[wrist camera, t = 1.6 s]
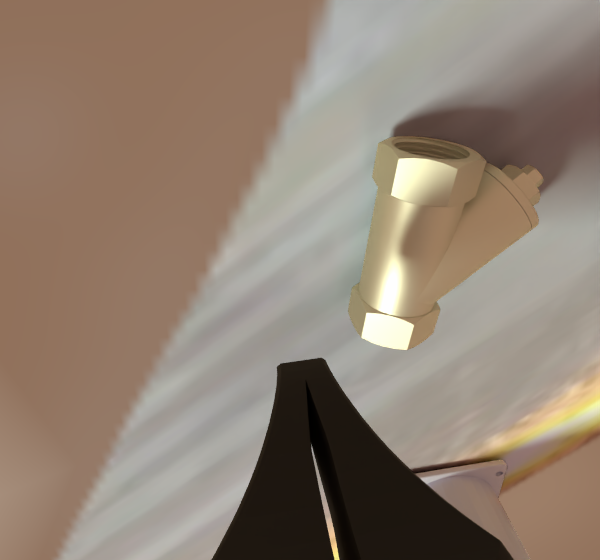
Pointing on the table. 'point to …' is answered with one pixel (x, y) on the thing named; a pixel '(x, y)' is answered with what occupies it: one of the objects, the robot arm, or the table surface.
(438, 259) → the pipe fitting
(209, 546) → the table surface
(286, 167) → the table surface
